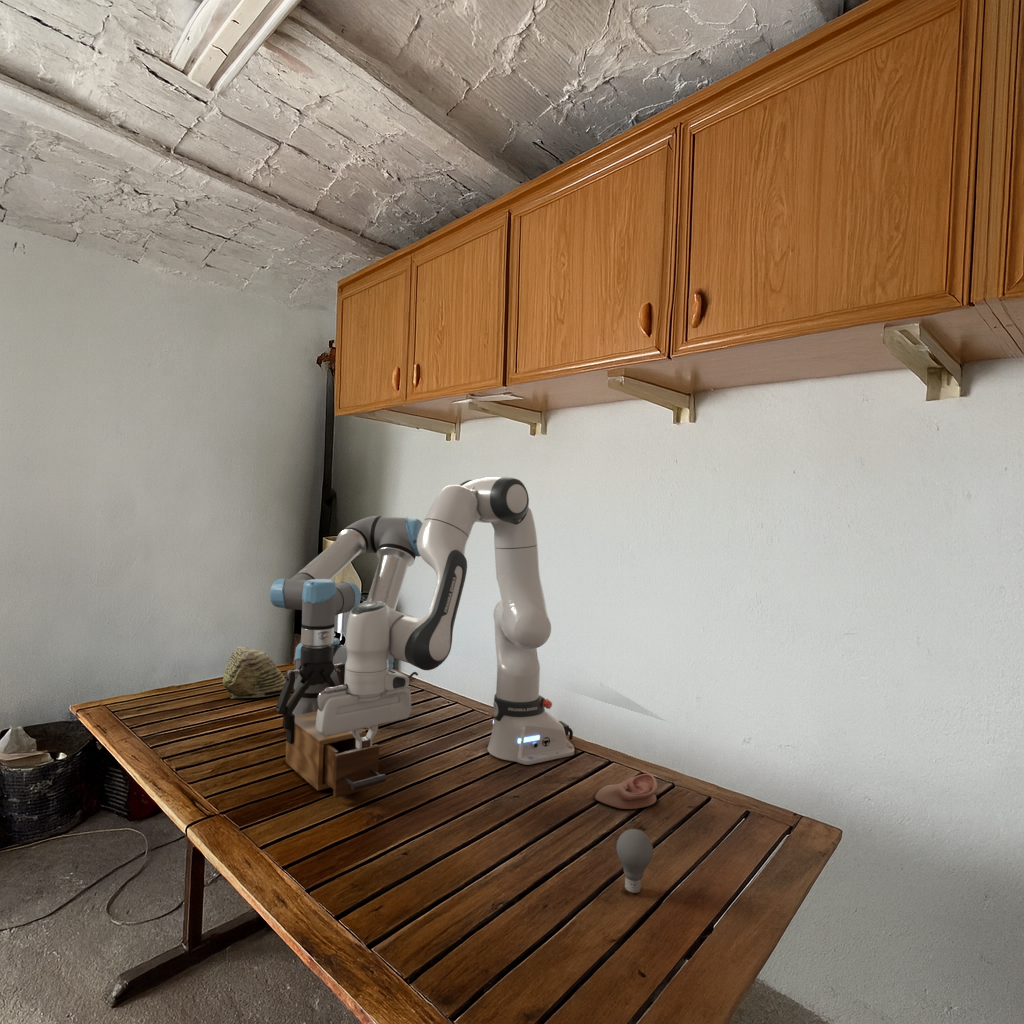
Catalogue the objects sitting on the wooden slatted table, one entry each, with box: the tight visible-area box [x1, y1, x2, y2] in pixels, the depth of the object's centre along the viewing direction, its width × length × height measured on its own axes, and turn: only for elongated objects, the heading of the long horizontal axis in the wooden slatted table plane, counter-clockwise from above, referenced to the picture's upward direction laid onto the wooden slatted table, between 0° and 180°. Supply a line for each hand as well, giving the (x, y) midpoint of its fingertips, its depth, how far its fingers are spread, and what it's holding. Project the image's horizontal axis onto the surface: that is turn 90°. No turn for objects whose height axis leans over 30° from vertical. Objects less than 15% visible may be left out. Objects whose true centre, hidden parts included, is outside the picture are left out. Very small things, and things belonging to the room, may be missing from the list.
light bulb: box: [615, 828, 654, 894], centre depth 106 cm, size 6×6×10 cm
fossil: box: [222, 646, 286, 699], centre depth 198 cm, size 9×18×15 cm, turn 132°
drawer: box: [323, 738, 387, 799], centre depth 138 cm, size 23×10×9 cm, turn 40°
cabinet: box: [285, 711, 367, 792], centre depth 146 cm, size 19×11×11 cm, turn 40°
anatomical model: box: [594, 773, 658, 810], centre depth 139 cm, size 13×4×12 cm
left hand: (314, 736), depth 151 cm, fingers closed on cabinet, 11 cm apart
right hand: (363, 747), depth 131 cm, fingers closed
